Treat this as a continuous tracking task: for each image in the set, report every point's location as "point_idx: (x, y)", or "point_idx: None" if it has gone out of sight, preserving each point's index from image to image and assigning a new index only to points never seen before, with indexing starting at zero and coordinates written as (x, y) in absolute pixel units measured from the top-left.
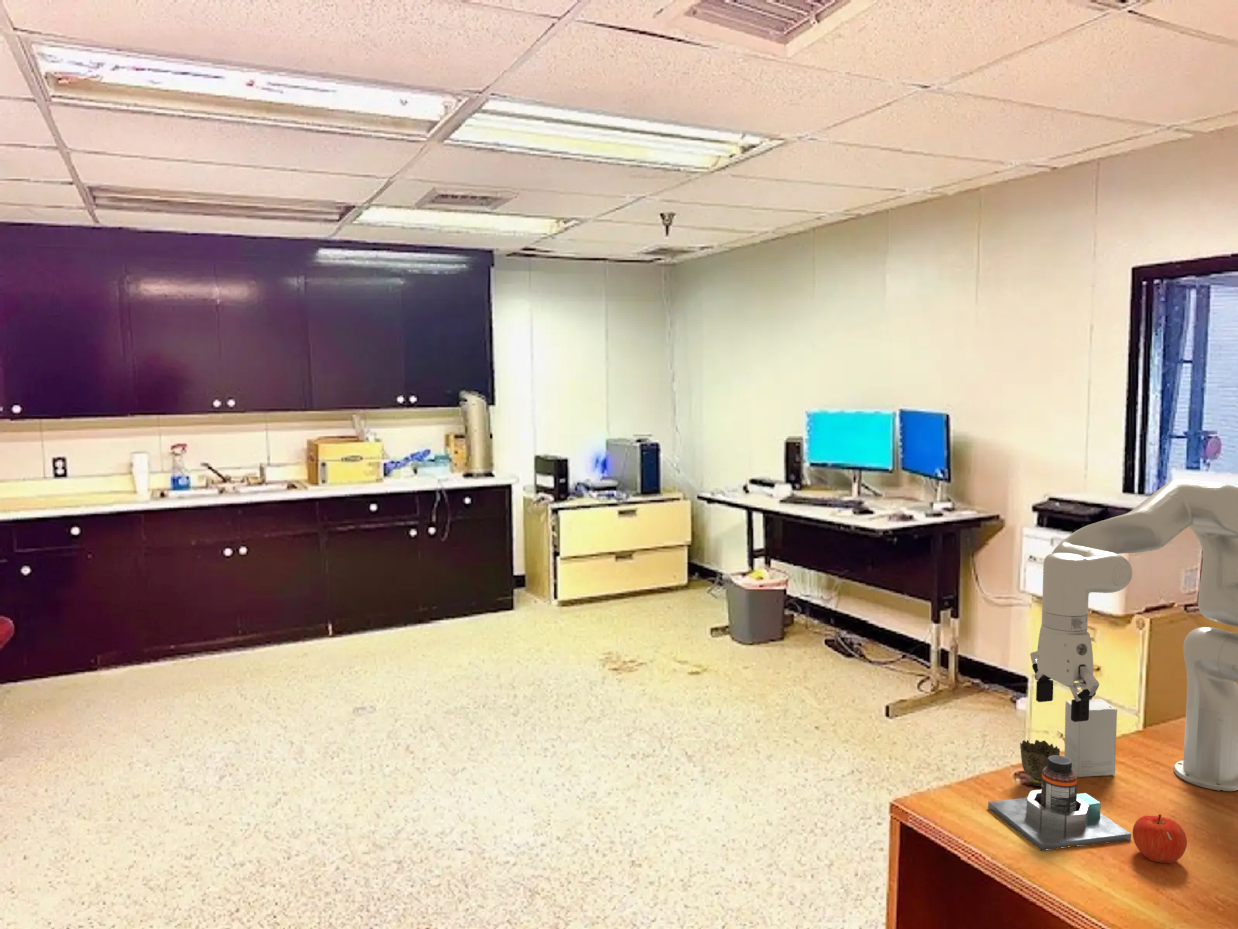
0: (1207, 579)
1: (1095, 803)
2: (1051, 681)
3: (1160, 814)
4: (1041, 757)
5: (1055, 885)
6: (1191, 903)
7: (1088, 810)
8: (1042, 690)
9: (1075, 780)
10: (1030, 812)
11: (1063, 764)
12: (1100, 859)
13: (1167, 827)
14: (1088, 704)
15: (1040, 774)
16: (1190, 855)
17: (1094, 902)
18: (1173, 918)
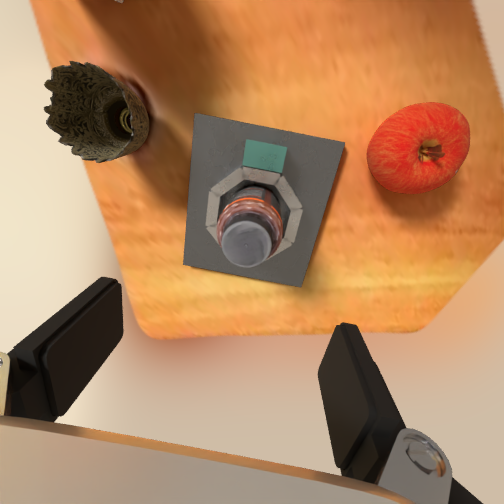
0: None
1: (284, 158)
2: (37, 357)
3: (444, 154)
4: (129, 146)
5: (358, 321)
6: (483, 216)
7: (284, 177)
8: (88, 365)
9: (281, 223)
10: None
11: (267, 256)
12: (351, 233)
13: (455, 162)
14: (383, 390)
15: (143, 142)
16: (426, 85)
17: (403, 312)
18: (479, 264)
